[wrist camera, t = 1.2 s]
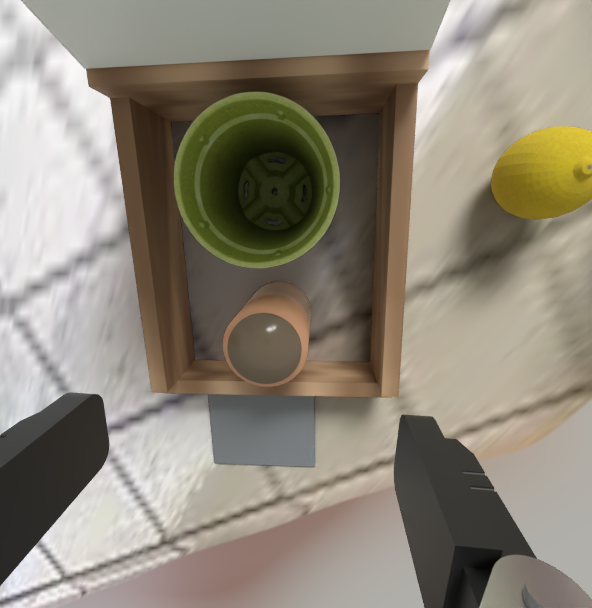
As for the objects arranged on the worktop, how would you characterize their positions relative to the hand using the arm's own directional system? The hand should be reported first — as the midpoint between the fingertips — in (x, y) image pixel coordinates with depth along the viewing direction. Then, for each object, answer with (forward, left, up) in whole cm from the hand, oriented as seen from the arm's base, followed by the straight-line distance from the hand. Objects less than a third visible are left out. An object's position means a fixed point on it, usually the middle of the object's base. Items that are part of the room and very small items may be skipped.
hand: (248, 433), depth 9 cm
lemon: (+16, +8, -21) cm, 28 cm away
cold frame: (-2, +3, -21) cm, 21 cm away
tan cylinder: (-2, -3, -21) cm, 21 cm away
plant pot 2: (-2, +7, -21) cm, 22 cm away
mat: (-4, -14, -21) cm, 26 cm away
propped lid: (-2, +19, -21) cm, 29 cm away
